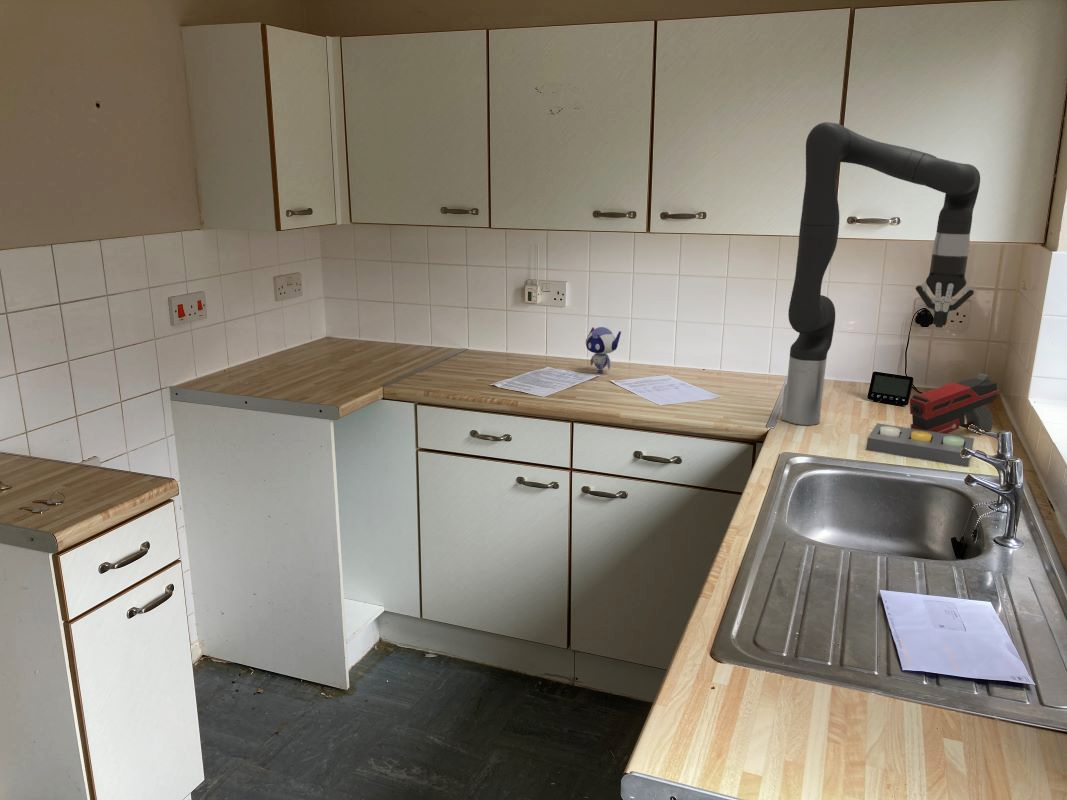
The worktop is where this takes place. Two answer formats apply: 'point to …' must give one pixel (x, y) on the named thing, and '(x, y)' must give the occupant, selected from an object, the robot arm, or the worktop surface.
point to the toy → (601, 346)
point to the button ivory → (890, 431)
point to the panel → (918, 445)
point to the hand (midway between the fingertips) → (939, 326)
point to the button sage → (953, 441)
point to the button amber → (921, 436)
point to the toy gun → (955, 406)
